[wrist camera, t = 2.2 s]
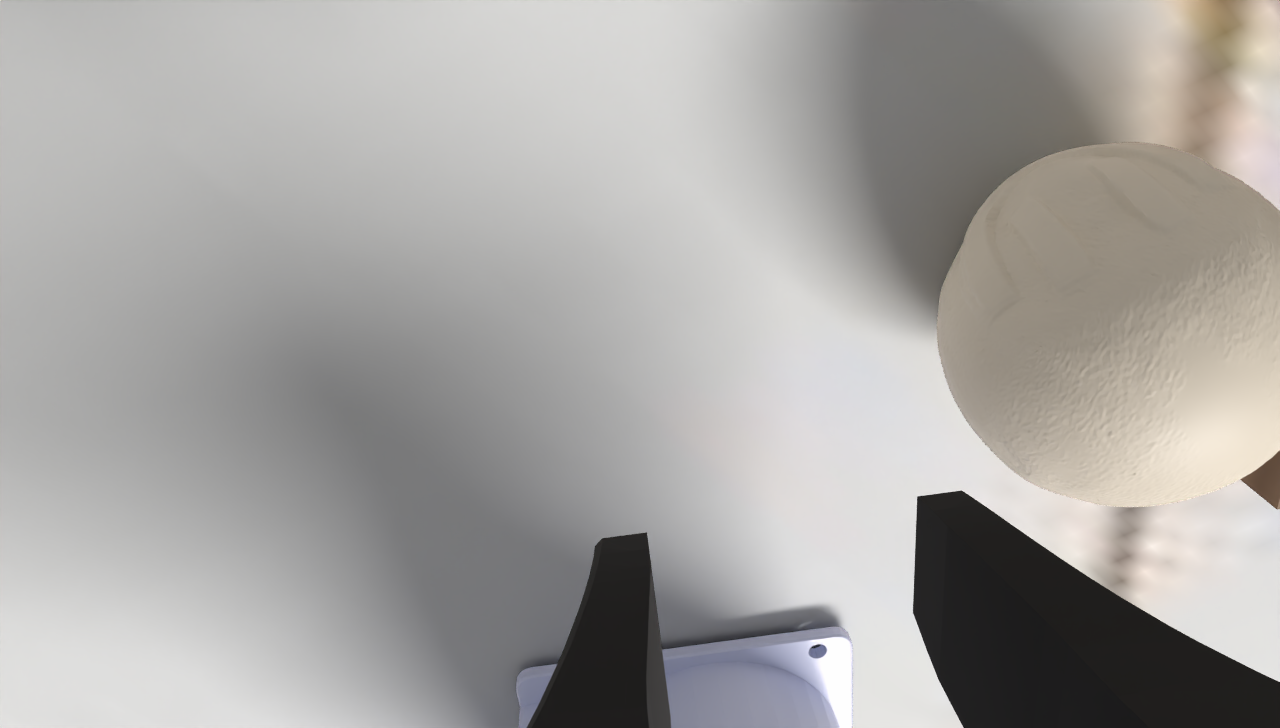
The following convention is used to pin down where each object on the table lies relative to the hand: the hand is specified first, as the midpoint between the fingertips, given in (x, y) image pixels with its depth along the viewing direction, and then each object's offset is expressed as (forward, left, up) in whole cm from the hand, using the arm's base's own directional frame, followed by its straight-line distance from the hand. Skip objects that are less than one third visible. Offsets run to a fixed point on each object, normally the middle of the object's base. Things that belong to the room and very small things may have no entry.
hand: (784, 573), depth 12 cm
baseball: (+8, 0, -10) cm, 12 cm away
